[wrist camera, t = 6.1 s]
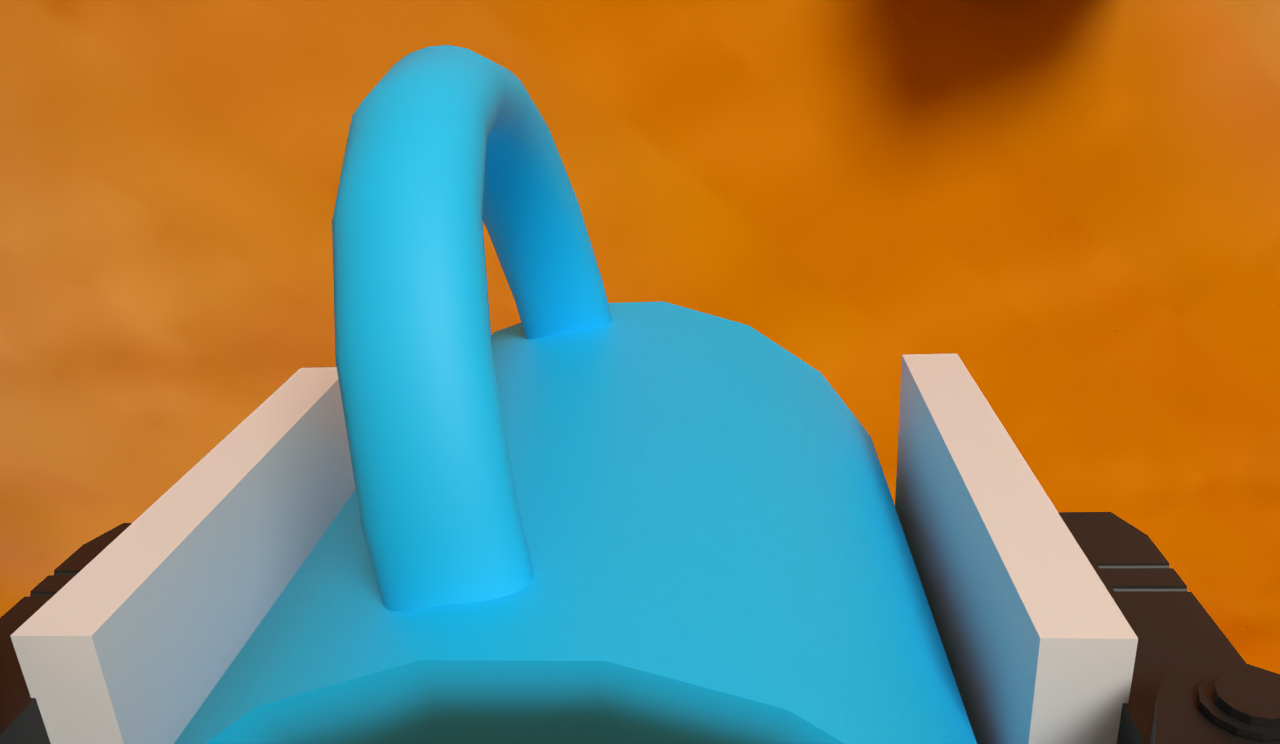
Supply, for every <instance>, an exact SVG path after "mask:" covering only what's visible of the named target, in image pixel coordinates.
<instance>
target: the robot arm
mask: <svg viewBox="0 0 1280 744" xmlns="http://www.w3.org/2000/svg"><path fill="white" fill-rule="evenodd" d="M355 489H356V488H355V481H354V475H353V469H352V462H351V456H350V449H349V443H348V437H347V430H346V424H345V417H344V411H343V405H342V398H341V392H340V386H339V379H338V373H337V367H325V368H300V369H299V370H298V371H297V372H296V373H295V374H294V375H293V376H292V377H290V378H289V379H288V380H287V381H286V382H285V383H284V384H283V385H282V386H281V387H280V388H279V389H277V390H276V391H275V392H274V393H273V394H272V395H271V396H270V397H269V398H268V399H267V400H265V401H264V402H263V403H262V404H261V405H260V406H259V407H258V408H257V409H256V410H255V411H254V412H252V413H251V414H250V415H249V416H248V417H247V418H246V419H245V420H244V421H243V422H242V423H241V424H239V425H238V426H237V427H236V428H235V429H234V430H233V431H232V432H231V433H230V434H229V435H228V436H226V437H225V438H224V439H223V440H222V441H221V442H220V443H219V444H218V445H217V446H216V447H214V448H213V449H212V450H211V451H210V452H209V453H208V454H207V455H206V456H205V457H204V458H203V459H201V460H200V461H199V462H198V463H197V464H196V465H195V466H194V467H193V468H192V469H191V470H190V471H188V472H187V473H186V474H185V475H184V476H183V477H182V478H181V479H180V480H179V481H178V482H177V483H175V484H174V485H173V486H172V487H171V488H170V489H169V490H168V491H167V492H166V493H165V494H163V495H162V496H161V497H160V498H159V499H158V500H157V501H156V502H155V503H154V504H153V505H152V506H150V507H149V508H148V509H147V510H146V511H145V512H144V513H143V514H142V515H141V516H140V517H139V518H137V519H136V520H135V521H134V522H133V523H123V524H121V525H119V526H117V527H116V528H114V529H112V530H110V531H108V532H106V533H104V534H103V535H101V536H99V537H97V538H95V539H93V540H92V541H90V542H88V543H86V544H84V545H83V546H81V547H80V548H79V549H78V550H77V551H76V552H75V553H73V554H72V555H71V556H70V557H69V558H68V559H67V560H66V561H64V562H63V563H62V564H61V565H60V566H59V567H58V568H57V569H55V570H54V576H47V577H46V578H45V579H44V580H43V581H42V582H41V583H40V584H38V585H37V586H36V587H35V588H34V589H33V590H32V591H31V595H30V597H24V598H23V599H21V600H20V601H19V602H18V603H17V604H16V605H15V606H14V607H12V608H11V609H10V610H9V611H8V612H7V613H6V614H5V615H3V616H2V617H1V618H0V744H174V743H175V742H176V740H177V739H178V737H179V736H180V735H181V733H182V732H183V730H184V729H185V728H186V726H187V725H188V723H189V722H190V721H191V719H192V718H193V716H194V715H195V714H196V712H197V711H198V709H199V708H200V707H201V705H202V704H203V702H204V701H205V700H206V698H207V697H208V695H209V694H210V692H211V691H212V690H213V688H214V687H215V685H216V684H217V683H218V681H219V680H220V678H221V677H222V676H223V674H224V673H225V671H226V670H227V669H228V667H229V666H230V664H231V663H232V662H233V660H234V659H235V657H236V656H237V655H238V653H239V652H240V650H241V649H242V648H243V646H244V645H245V643H246V642H247V641H248V639H249V638H250V636H251V635H252V634H253V632H254V631H255V629H256V628H257V627H258V625H259V624H260V622H261V621H262V620H263V618H264V617H265V615H266V614H267V613H268V611H269V610H270V608H271V607H272V606H273V604H274V603H275V601H276V600H277V599H278V597H279V596H280V594H281V593H282V592H283V590H284V589H285V587H286V586H287V585H288V583H289V582H290V580H291V579H292V578H293V576H294V575H295V573H296V572H297V571H298V569H299V568H300V566H301V565H302V564H303V562H304V561H305V559H306V558H307V557H308V555H309V554H310V552H311V551H312V549H313V548H314V547H315V545H316V544H317V542H318V541H319V540H320V538H321V537H322V535H323V534H324V533H325V531H326V530H327V528H328V527H329V526H330V524H331V523H332V521H333V520H334V519H335V517H336V516H337V514H338V513H339V512H340V510H341V509H342V507H343V506H344V505H345V503H346V502H347V500H348V499H349V498H350V496H351V495H352V493H353V492H354V491H355ZM895 508H896V511H897V514H898V517H899V520H900V523H901V526H902V529H903V531H904V534H905V537H906V540H907V543H908V546H909V549H910V552H911V554H912V557H913V560H914V563H915V566H916V569H917V572H918V575H919V578H920V580H921V583H922V586H923V589H924V592H925V595H926V598H927V601H928V604H929V606H930V609H931V612H932V615H933V618H934V621H935V624H936V627H937V629H938V632H939V635H940V638H941V641H942V644H943V647H944V650H945V653H946V655H947V658H948V661H949V664H950V667H951V670H952V673H953V676H954V679H955V681H956V684H957V687H958V690H959V693H960V696H961V699H962V702H963V704H964V707H965V710H966V713H967V716H968V719H969V722H970V725H971V728H972V730H973V733H974V736H975V739H976V742H977V744H1280V674H1276V673H1273V672H1270V671H1267V670H1264V669H1261V668H1258V667H1255V666H1252V665H1249V664H1246V662H1245V661H1244V660H1243V659H1242V657H1241V656H1240V655H1239V653H1238V652H1237V651H1236V649H1235V648H1234V647H1233V646H1232V644H1231V643H1230V642H1229V640H1228V639H1227V638H1226V636H1225V635H1224V634H1223V633H1222V631H1221V630H1220V629H1219V627H1218V626H1217V625H1216V624H1215V622H1214V621H1213V620H1212V618H1211V617H1210V616H1209V614H1208V613H1207V612H1206V611H1205V609H1204V608H1203V607H1202V605H1201V604H1200V603H1199V601H1198V600H1197V599H1196V598H1195V596H1194V595H1193V594H1192V592H1187V586H1186V585H1185V583H1184V582H1183V581H1182V579H1181V578H1180V577H1179V576H1178V574H1177V573H1176V572H1175V570H1174V569H1169V563H1168V561H1167V560H1166V559H1165V557H1164V556H1163V555H1162V554H1161V552H1160V551H1159V550H1158V548H1157V547H1156V546H1155V544H1154V543H1153V542H1152V541H1151V539H1150V538H1149V537H1148V535H1146V534H1144V533H1143V532H1141V531H1140V530H1138V529H1136V528H1135V527H1133V526H1132V525H1130V524H1128V523H1127V522H1125V521H1124V520H1122V519H1121V518H1119V517H1117V516H1116V515H1114V514H1113V513H1111V512H1065V513H1058V512H1057V510H1056V509H1055V507H1054V505H1053V504H1052V502H1051V501H1050V499H1049V498H1048V496H1047V494H1046V493H1045V491H1044V490H1043V488H1042V487H1041V485H1040V483H1039V482H1038V480H1037V479H1036V477H1035V476H1034V474H1033V472H1032V471H1031V469H1030V468H1029V466H1028V465H1027V463H1026V461H1025V460H1024V458H1023V457H1022V455H1021V454H1020V452H1019V450H1018V449H1017V447H1016V446H1015V444H1014V442H1013V441H1012V439H1011V438H1010V436H1009V435H1008V433H1007V431H1006V430H1005V428H1004V427H1003V425H1002V424H1001V422H1000V420H999V419H998V417H997V416H996V414H995V413H994V411H993V409H992V408H991V406H990V405H989V403H988V402H987V400H986V398H985V397H984V395H983V394H982V392H981V391H980V389H979V387H978V386H977V384H976V383H975V381H974V380H973V378H972V376H971V375H970V373H969V372H968V370H967V369H966V367H965V365H964V364H963V362H962V361H961V359H960V358H959V356H958V354H913V355H902V370H901V391H900V413H899V434H898V456H897V477H896V499H895Z"/></svg>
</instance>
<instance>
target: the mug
mask: <svg viewBox="0 0 1280 744" xmlns="http://www.w3.org/2000/svg"><path fill="white" fill-rule="evenodd" d="M482 220H483V222H484V224H485V226H486V228H487V230H488V233H489V235H490V238H491V240H492V243H493V245H494V248H495V251H496V253H497V256H498V258H499V261H500V263H501V266H502V268H503V271H504V274H505V276H506V279H507V281H508V284H509V286H510V289H511V291H512V294H513V297H514V299H515V302H516V306H517V309H518V312H519V316H520V319H521V322H522V323H519V324H517V325H514V326H511V327H508V328H505V329H502V330H499V331H496V332H495V333H493V334H492V335H491V329H490V315H489V302H488V289H487V276H486V263H485V250H484V237H483V224H482ZM332 232H333V273H334V314H335V355H336V366H337V373H338V379H339V386H340V392H341V398H342V405H343V411H344V417H345V424H346V430H347V437H348V443H349V449H350V456H351V462H352V469H353V475H354V481H355V488H356V489H355V491H354V492H353V493H352V495H351V496H350V498H349V499H348V500H347V502H346V503H345V505H344V506H343V507H342V509H341V510H340V512H339V513H338V514H337V516H336V517H335V519H334V520H333V521H332V523H331V524H330V526H329V527H328V528H327V530H326V531H325V533H324V534H323V535H322V537H321V538H320V540H319V541H318V542H317V544H316V545H315V547H314V548H313V549H312V551H311V552H310V554H309V555H308V557H307V558H306V559H305V561H304V562H303V564H302V565H301V566H300V568H299V569H298V571H297V572H296V573H295V575H294V576H293V578H292V579H291V580H290V582H289V583H288V585H287V586H286V587H285V589H284V590H283V592H282V593H281V594H280V596H279V597H278V599H277V600H276V601H275V603H274V604H273V606H272V607H271V608H270V610H269V611H268V613H267V614H266V615H265V617H264V618H263V620H262V621H261V622H260V624H259V625H258V627H257V628H256V629H255V631H254V632H253V634H252V635H251V636H250V638H249V639H248V641H247V642H246V643H245V645H244V646H243V648H242V649H241V650H240V652H239V653H238V655H237V656H236V657H235V659H234V660H233V662H232V663H231V664H230V666H229V667H228V669H227V670H226V671H225V673H224V674H223V676H222V677H221V678H220V680H219V681H218V683H217V684H216V685H215V687H214V688H213V690H212V691H211V692H210V694H209V695H208V697H207V698H206V700H205V701H204V702H203V704H202V705H201V707H200V708H199V709H198V711H197V712H196V714H195V715H194V716H193V718H192V719H191V721H190V722H189V723H188V725H187V726H186V728H185V729H184V730H183V732H182V733H181V735H180V736H179V737H178V739H177V740H176V742H175V743H174V744H977V742H976V739H975V736H974V733H973V730H972V728H971V725H970V722H969V719H968V716H967V713H966V710H965V707H964V704H963V702H962V699H961V696H960V693H959V690H958V687H957V684H956V681H955V679H954V676H953V673H952V670H951V667H950V664H949V661H948V658H947V655H946V653H945V650H944V647H943V644H942V641H941V638H940V635H939V632H938V629H937V627H936V624H935V621H934V618H933V615H932V612H931V609H930V606H929V604H928V601H927V598H926V595H925V592H924V589H923V586H922V583H921V580H920V578H919V575H918V572H917V569H916V566H915V563H914V560H913V557H912V554H911V552H910V549H909V546H908V543H907V540H906V537H905V534H904V531H903V529H902V526H901V523H900V520H899V517H898V514H897V511H896V508H895V505H894V503H893V500H892V497H891V494H890V491H889V488H888V485H887V482H886V479H885V477H884V474H883V471H882V468H881V465H880V462H879V459H878V456H877V454H876V451H875V448H874V445H873V442H872V439H871V436H870V435H869V434H868V433H867V431H866V430H865V429H864V427H863V426H862V425H861V424H860V422H859V421H858V420H857V418H856V417H855V416H854V415H853V413H852V412H851V411H850V410H849V408H848V407H847V406H846V404H845V403H844V402H843V401H842V399H841V398H840V397H839V396H838V394H837V393H836V392H835V390H834V389H833V388H832V387H831V385H830V384H829V383H828V381H827V380H826V379H825V378H824V376H823V375H822V374H821V373H820V372H819V371H817V370H816V369H814V368H813V367H811V366H810V365H808V364H807V363H805V362H803V361H802V360H800V359H799V358H797V357H796V356H794V355H793V354H791V353H790V352H788V351H787V350H785V349H784V348H782V347H781V346H779V345H778V344H776V343H775V342H773V341H771V340H770V339H768V338H767V337H765V336H764V335H762V334H761V333H759V332H758V331H756V330H755V329H753V328H752V327H750V326H748V325H745V324H741V323H738V322H734V321H731V320H727V319H723V318H720V317H716V316H713V315H709V314H706V313H702V312H699V311H695V310H691V309H688V308H684V307H681V306H677V305H674V304H670V303H667V302H631V303H608V301H607V297H606V293H605V290H604V286H603V282H602V278H601V275H600V271H599V268H598V265H597V262H596V258H595V255H594V252H593V249H592V245H591V242H590V239H589V236H588V233H587V229H586V226H585V223H584V220H583V216H582V213H581V210H580V207H579V204H578V201H577V198H576V195H575V193H574V190H573V188H572V185H571V183H570V180H569V178H568V175H567V173H566V170H565V168H564V165H563V163H562V160H561V158H560V155H559V153H558V150H557V148H556V145H555V143H554V140H553V138H552V135H551V133H550V130H549V128H548V126H547V124H546V123H545V121H544V119H543V118H542V116H541V114H540V113H539V111H538V109H537V108H536V106H535V104H534V103H533V101H532V99H531V98H530V96H529V94H528V92H527V91H526V89H525V87H524V86H523V84H522V82H521V81H520V80H519V79H518V78H517V77H516V76H515V75H514V74H513V73H512V72H511V71H510V70H508V69H506V68H504V67H502V66H500V65H498V64H496V63H494V62H492V61H491V60H489V59H487V58H485V57H483V56H481V55H479V54H477V53H475V52H473V51H471V50H469V49H467V48H461V47H455V46H450V45H443V46H432V47H426V48H423V49H421V50H418V51H415V52H412V53H410V54H408V55H407V56H405V57H404V58H403V59H401V60H400V61H398V62H397V63H396V64H394V65H393V67H392V68H391V69H390V70H389V71H388V72H387V74H386V75H385V76H384V77H383V78H382V79H381V80H380V82H379V83H378V84H377V85H376V86H375V87H374V89H373V90H372V91H371V92H370V93H369V94H368V95H367V97H366V98H365V99H364V100H363V101H362V103H361V104H360V106H359V107H358V108H357V110H356V111H355V112H354V114H353V116H352V121H351V125H350V129H349V134H348V139H347V145H346V150H345V155H344V161H343V166H342V171H341V177H340V182H339V188H338V193H337V198H336V204H335V209H334V214H333V220H332Z"/></svg>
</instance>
